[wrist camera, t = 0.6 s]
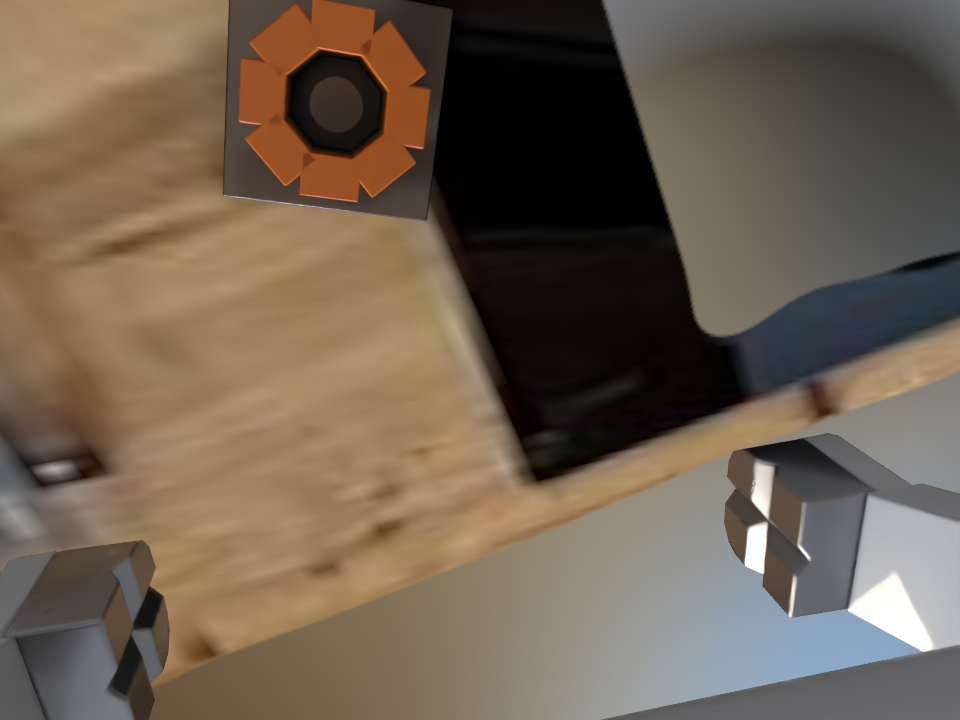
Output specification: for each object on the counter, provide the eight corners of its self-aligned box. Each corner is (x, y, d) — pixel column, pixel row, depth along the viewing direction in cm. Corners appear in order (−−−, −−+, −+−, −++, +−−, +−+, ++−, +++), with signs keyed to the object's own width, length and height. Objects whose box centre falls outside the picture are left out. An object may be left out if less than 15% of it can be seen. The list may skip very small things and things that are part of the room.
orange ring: (248, -10, 25) (243, -16, 24) (434, 25, 27) (439, 21, 26) (240, 182, 28) (235, 186, 26) (413, 204, 29) (417, 209, 28)
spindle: (235, -29, 29) (211, -58, 24) (448, 13, 31) (472, -6, 26) (227, 191, 32) (204, 211, 27) (423, 216, 34) (440, 239, 29)
